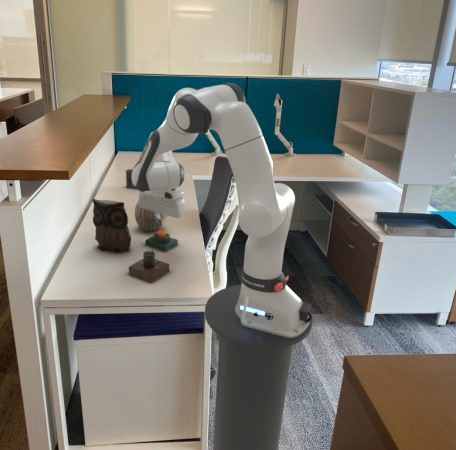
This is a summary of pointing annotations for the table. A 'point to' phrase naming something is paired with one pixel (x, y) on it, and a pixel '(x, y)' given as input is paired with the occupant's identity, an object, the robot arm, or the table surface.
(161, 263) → the knob panel
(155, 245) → the button box
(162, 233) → the button
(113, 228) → the owl
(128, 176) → the camera
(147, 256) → the rod knob
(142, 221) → the vase
